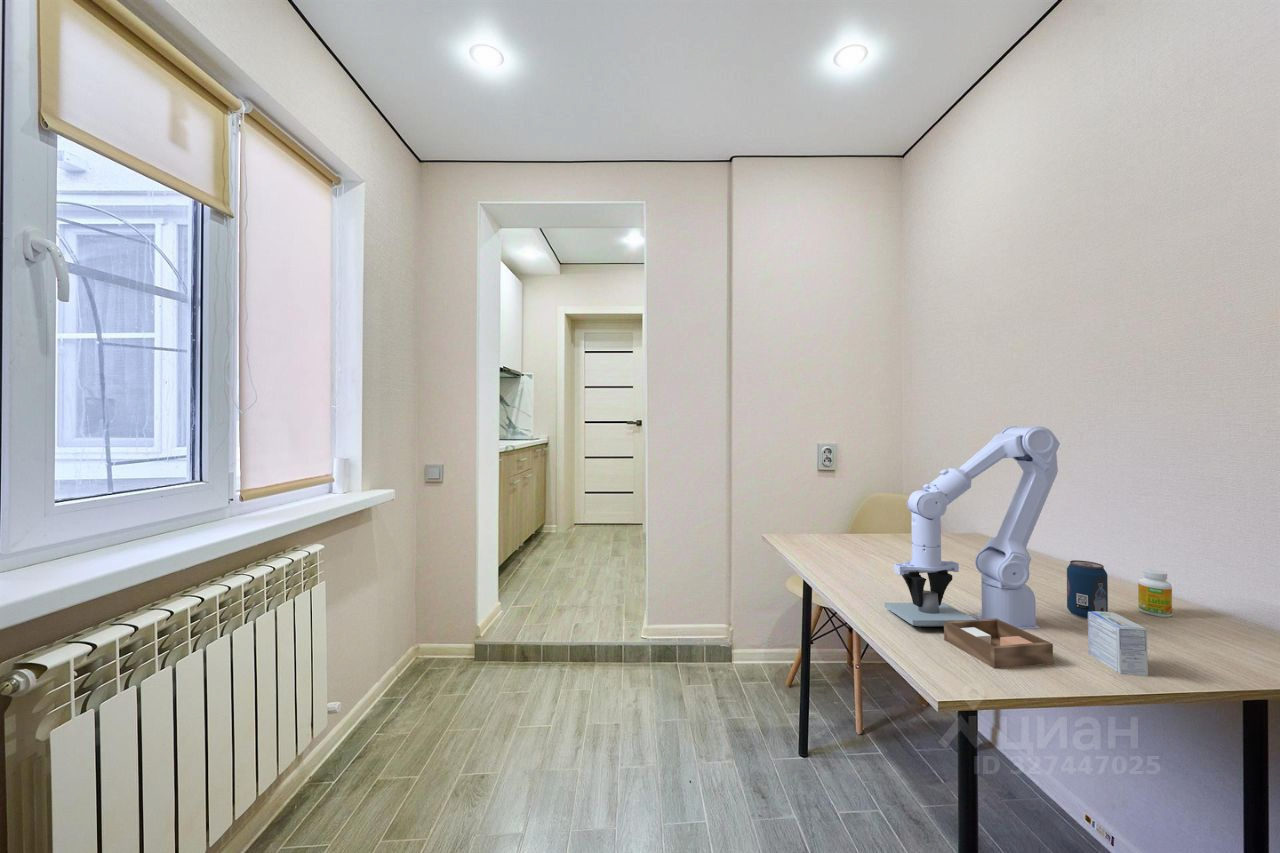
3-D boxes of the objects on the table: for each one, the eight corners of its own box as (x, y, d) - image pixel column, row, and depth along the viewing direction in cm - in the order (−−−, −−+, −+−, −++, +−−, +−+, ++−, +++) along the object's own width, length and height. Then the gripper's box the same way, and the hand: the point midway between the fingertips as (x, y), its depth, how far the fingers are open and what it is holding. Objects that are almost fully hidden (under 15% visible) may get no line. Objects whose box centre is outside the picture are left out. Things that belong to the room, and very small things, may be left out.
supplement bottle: (1146, 615, 112) (1146, 573, 112) (1133, 607, 117) (1132, 566, 117) (1178, 618, 110) (1177, 575, 110) (1163, 610, 115) (1162, 569, 115)
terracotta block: (1018, 650, 95) (1018, 635, 95) (1038, 660, 91) (1037, 645, 91) (1000, 651, 94) (1000, 637, 94) (1019, 661, 90) (1018, 646, 90)
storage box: (996, 637, 101) (996, 618, 101) (1053, 665, 89) (1052, 643, 89) (944, 641, 100) (943, 622, 100) (994, 670, 88) (994, 648, 88)
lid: (943, 610, 116) (941, 585, 116) (979, 629, 102) (977, 600, 103) (885, 610, 116) (883, 585, 117) (913, 629, 103) (911, 600, 103)
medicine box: (1149, 678, 84) (1148, 628, 84) (1118, 676, 85) (1118, 626, 85) (1114, 657, 92) (1114, 611, 92) (1087, 655, 93) (1086, 610, 93)
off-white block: (974, 641, 99) (974, 627, 99) (991, 649, 95) (990, 635, 95) (956, 642, 98) (956, 628, 98) (972, 651, 94) (972, 636, 94)
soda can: (1072, 608, 117) (1072, 557, 117) (1112, 617, 111) (1111, 564, 111) (1062, 614, 113) (1061, 562, 113) (1102, 624, 107) (1102, 569, 107)
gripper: (942, 538, 115) (942, 596, 115) (885, 541, 113) (885, 600, 113) (965, 546, 108) (966, 607, 108) (905, 549, 106) (906, 611, 106)
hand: (926, 604), depth 110 cm, fingers closed on lid, 4 cm apart
